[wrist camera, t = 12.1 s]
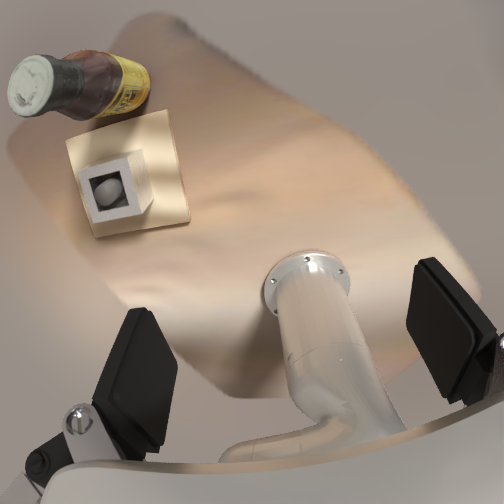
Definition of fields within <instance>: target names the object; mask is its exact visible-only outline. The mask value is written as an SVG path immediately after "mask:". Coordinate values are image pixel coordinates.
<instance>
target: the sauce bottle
mask: <svg viewBox="0 0 504 504" xmlns="http://www.w3.org/2000/svg"><path fill="white" fill-rule="evenodd" d="M150 89H151V77H150V75H149V73H148V71H146V69H145V68H144V67H143V66H142V65H140V64H139V63H136V62H133V61H131V60H128V59H124V58H121V57H118V56H115V55H112V54H108V53H105V52H98V51H94V50H80V51H77V52H74V53H72V54H69V55H67V56H66V57H64V58H62V59H61V60H59V59H56V58H54V57H53V56H49V55H32V56H29V57H27V58H25V59H24V60H23V61H22V62H21V63H20V64H19V65H18V66H17V67H16V68H15V70H14V71H13V73H12V75H11V78H10V82H9V85H8V91H7V92H8V101H9V105H10V107H11V109H12V110H13V112H14V113H16V114H18V115H19V116H22V117H25V118H27V117H36V116H40V115H43V114H45V113H46V112H49V111H57V112H59V113H62V114H64V115H66V116H68V117H70V118H72V119H74V120H78V121H84V120H89V119H94V118H99V117H105V116H110V115H114V114H120V113H126V112H129V111H132V110H134V109H136V108H137V107H139V106H140V105H141V104H142V103H143V102H144V101H145V100H146V99H147V98H148V96H149V93H150Z"/></svg>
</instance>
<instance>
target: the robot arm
mask: <svg viewBox="0 0 504 504" xmlns="http://www.w3.org/2000/svg"><path fill="white" fill-rule="evenodd" d="M349 290H350V277H349V274H348V272H347V270H346V268H345V266H344V265H343V263H342V262H341V261H340V260H339V259H337V258H336V257H335V256H333V255H331V254H329V253H325V252H322V251H303V252H299V253H295V254H293V255H290V256H288V257H286V258H285V259H283V260H282V261H280V262H279V263H278V264H277V265H276V266H275V267H273V269H272V270H271V271H270V273H269V274H268V276H267V279H266V281H265V285H264V297H265V302H266V305H267V307H268V309H269V310H270V311H271V313H272V314H274V315H275V316H276V317H277V318H278V319H279V326H280V334H281V341H282V348H283V355H284V363H285V370H286V378H287V385H288V390H289V394H290V397H291V399H292V401H293V402H294V404H295V405H296V407H297V408H298V409H299V410H300V411H301V412H302V413H303V414H305V415H306V416H307V417H308V418H310V419H311V420H313V421H314V422H316V423H317V424H316V425H314V426H310V427H307V428H304V429H302V430H297V431H293V432H289V433H284V434H280V435H275V436H270V437H265V438H260V439H255V440H250V441H245V442H242V443H238V444H236V445H234V446H232V447H230V448H229V449H227V450H226V451H225V452H224V453H223V454H222V456H221V457H220V459H219V461H218V463H217V464H215V463H214V464H191V463H190V464H189V463H187V464H186V463H160V462H147V461H146V460H145V456H146V452H150V453H159V449H160V446H162V445H163V444H164V441H165V436H166V430H167V424H168V418H169V413H170V406H171V402H172V396H173V391H174V385H175V380H176V375H177V370H178V365H177V361H176V359H175V357H174V355H173V353H172V351H171V349H170V347H169V345H168V343H167V341H166V339H165V338H164V336H163V334H162V331H161V329H160V327H159V325H158V323H157V321H156V319H155V317H154V315H153V313H152V312H151V311H148V310H147V309H146V308H145V307H142V308H134V309H130V310H129V311H128V313H127V315H126V318H125V320H124V322H123V324H122V326H121V328H120V331H119V333H118V335H117V338H116V340H115V342H114V345H113V347H112V349H111V352H110V354H109V357H108V359H107V361H106V364H105V367H104V369H103V371H102V374H101V376H100V379H99V381H98V384H97V387H96V390H95V393H94V395H93V397H92V399H93V401H92V404H91V405H90V404H86V403H82V404H78V405H75V406H73V407H72V408H71V409H69V410H68V412H67V413H66V414H65V416H64V418H63V421H62V429H63V432H61V433H60V434H58V435H57V436H55V437H54V438H52V439H51V440H50V441H48V442H46V443H45V444H43V445H41V446H40V447H39V448H37V449H35V450H34V451H33V452H31V453H30V455H29V456H28V458H27V460H26V464H25V470H26V473H24V472H21V473H20V474H19V475H18V477H17V478H16V479H15V480H14V481H13V482H12V484H11V485H10V486H9V487H8V488H7V489H6V491H5V492H4V493H3V494H2V495H1V496H0V504H504V332H503V333H502V334H500V336H498V334H497V333H496V331H497V329H496V328H495V327H494V326H493V324H492V323H491V321H490V320H489V319H488V318H487V316H486V315H485V314H484V313H483V311H482V310H481V309H480V308H479V306H478V305H477V304H476V303H475V302H474V300H473V299H472V298H471V297H470V296H469V294H468V293H467V292H466V291H465V290H464V289H463V288H462V286H461V285H460V284H459V283H458V282H457V281H456V280H455V278H454V277H453V276H452V275H451V274H450V273H449V272H448V271H447V270H446V269H445V268H444V266H443V265H442V264H441V263H440V262H439V261H438V260H437V259H436V258H435V257H430V258H426V259H421V260H419V262H418V265H415V267H414V274H413V281H412V289H411V295H410V302H409V308H408V314H407V319H406V327H407V330H408V332H409V334H410V336H411V337H412V339H413V341H414V343H415V345H416V346H417V348H418V350H419V352H420V354H421V356H422V358H423V359H424V361H425V363H426V365H427V367H428V369H429V371H430V373H431V375H432V377H433V379H434V381H435V383H436V385H437V387H438V389H439V391H440V393H441V395H442V397H443V398H447V400H448V402H449V404H452V403H454V402H457V401H459V400H461V399H462V401H463V403H464V408H463V409H461V410H459V411H457V412H454V413H452V414H449V415H447V416H444V417H442V418H439V419H437V420H434V421H432V422H429V423H426V424H424V425H421V426H418V427H415V428H412V429H410V430H408V429H407V427H406V426H405V424H404V422H403V421H402V419H401V417H400V416H399V414H398V412H397V410H396V409H395V407H394V405H393V403H392V401H391V400H390V397H389V396H388V394H387V391H386V390H385V387H384V385H383V383H382V380H381V378H380V375H379V373H378V371H377V368H376V366H375V363H374V361H373V358H372V356H371V353H370V351H369V348H368V345H367V343H366V341H365V338H364V336H363V333H362V331H361V329H360V326H359V324H358V322H357V319H356V317H355V314H354V312H353V310H352V307H351V305H350V303H349V301H348V298H347V296H348V294H349Z"/></svg>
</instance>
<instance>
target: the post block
mask: <svg viewBox="0 0 504 504" xmlns="http://www.w3.org/2000/svg"><path fill="white" fill-rule="evenodd" d="M66 145H67V149H68V153H69V157H70V161H71V164H72V168H73V172H74V175H75V179H76V182H77V186H78V189H79V192H80V196H81V199H82V202H83V205H84V208H85V211H86V214H87V217H88V220H89V223H90V226H91V229H92V231H93V234H94V237H95V238H97V237H103V236H108V235H113V234H119V233H124V232H130V231H136V230H142V229H147V228H153V227H159V226H165V225H172V224H178V223H184V222H190V220H191V215H190V211H189V207H188V202H187V198H186V193H185V189H184V184H183V180H182V175H181V171H180V166H179V161H178V156H177V151H176V146H175V141H174V136H173V131H172V126H171V121H170V116H169V110H168V109H166V110H162V111H158V112H154V113H150V114H146V115H142V116H139V117H135V118H131V119H128V120H125V121H121V122H118V123H115V124H111V125H108V126H105V127H102V128H99V129H96V130H93V131H90V132H87V133H84V134H82V135H79V136H76V137H73V138H71V139H68V140H66ZM140 148H142V150H143V154H144V159H145V163H146V167H147V171H148V176H149V180H150V184H151V188H152V192H153V196H154V199H153V200H152V202H151V203H150V204H149V205H148V207H147V208H146V209H145V211H144V212H143V213H142V214H139V215H134V216H128V217H123V218H118V219H113V220H108V221H103V222H99V223H94V224H93V221H92V218H91V215H90V212H89V209H88V206H87V203H86V200H85V196H84V193H83V190H82V186H81V183H80V179H79V176H78V172H77V171H78V170H80V169H82V168H84V167H85V166H87V165H89V164H91V163H92V162H94V161H96V160H99V159H103V158H106V157H110V156H113V155H117V154H121V153H124V152H128V151H132V150H136V149H140ZM108 174H109V179H107V180H106V181H104V182H103V183H102V184H100V185H99V186H98V187H97V188H96V190H95V198H96V200H97V202H98V203H99V204H101V205H103V206H108V205H110V204H112V203H113V202H114V201H115V200H116V199H117V198H118V197H119V196H121V195H126V193H125V189H124V185H123V182H122V178H121V174H120V170H119V171H116V172H112V173H108Z"/></svg>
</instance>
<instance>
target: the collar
mask: <svg viewBox="0 0 504 504" xmlns="http://www.w3.org/2000/svg"><path fill="white" fill-rule="evenodd" d="M119 170H120V174H121V178H122V182H123V185H124V189H125V193H126V195H121V196H119V197H118V198H117V199H116V200H115V201H114V202H113V203H112V204H110V205H108V206H103V205H101V204H99V203H98V202H97V200H96V198H95V190H96V188H97V187H98V186H99V185H100V184H102V183H103V182H104V181H106V180H107V179H109V174H108V173H112V172H116V171H119ZM77 172H78V176H79V179H80V183H81V186H82V190H83V193H84V196H85V200H86V203H87V206H88V209H89V212H90V215H91V218H92V221H93V224H94V223H99V222H103V221H108V220H113V219H118V218H123V217H128V216H134V215H139V214H142V213H143V212H144V211H145V209H146V208H147V207H148V205H149V204H150V203H151V202H152V200H153V199H154V196H153V192H152V188H151V184H150V180H149V176H148V171H147V167H146V163H145V159H144V154H143V150H142V148H140V149H136V150H132V151H128V152H124V153H121V154H117V155H113V156H110V157H106V158H103V159H99V160H96V161H94V162H92V163H91V164H89V165H87V166H85V167H84V168H82V169H80V170H78V171H77Z"/></svg>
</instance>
